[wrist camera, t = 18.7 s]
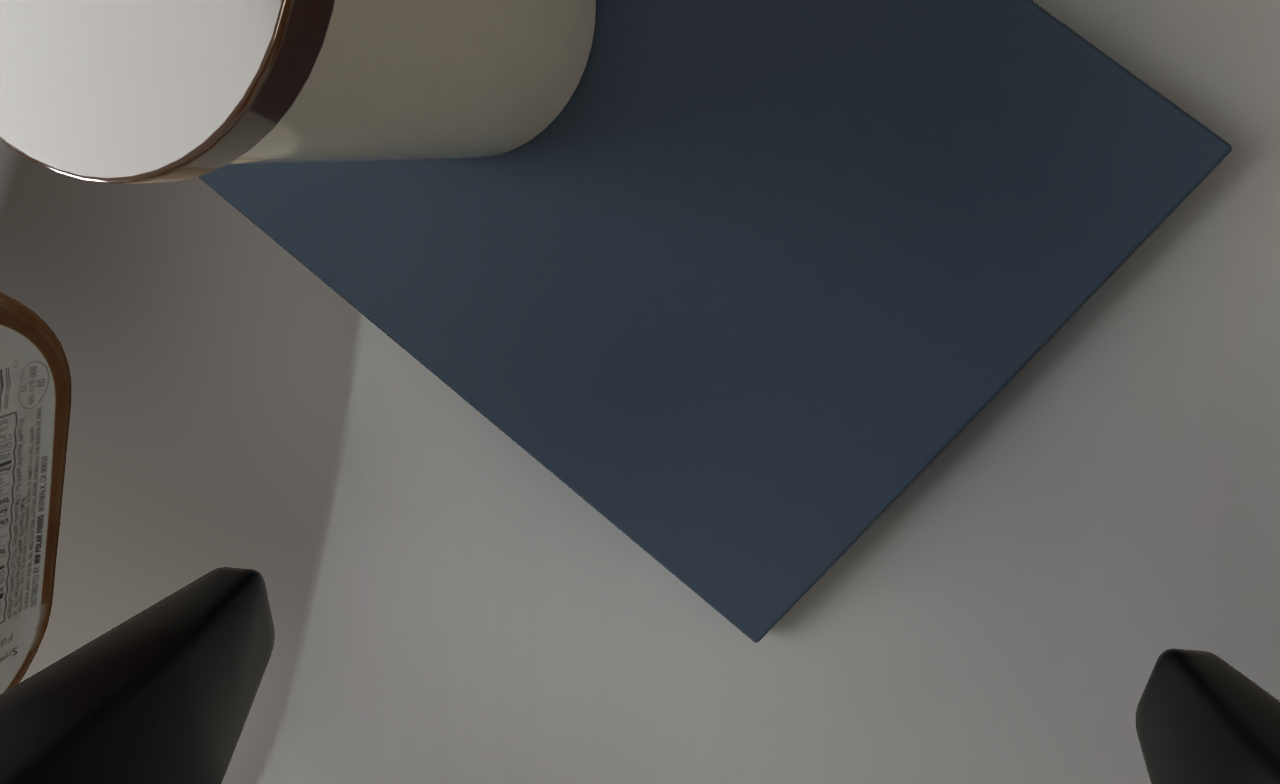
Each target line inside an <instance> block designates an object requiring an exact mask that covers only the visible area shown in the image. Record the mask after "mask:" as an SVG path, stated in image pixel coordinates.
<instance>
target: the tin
mask: <svg viewBox="0 0 1280 784" xmlns="http://www.w3.org/2000/svg"><path fill="white" fill-rule="evenodd" d="M70 408H71V376H70V371H69V366H68V362H67V359H66V356H65V353H64V350H63V348H62V345H61V343H60V341H59V340H58V338H57V337H56V335H55V334H54V332H53V331H52V330H51V329H50V327H49V326H48V325H47V324H46V323H45V322H44V321H43V320H42V319H41V318H40V317H39V316H38V315H37V314H36V313H34V312H33V311H32V310H31V309H29V308H27V307H26V306H24V305H23V304H21V303H20V302H18V301H17V300H15V299H13V298H11V297H9V296H7V295H5V294H3V293H1V292H0V694H2V693H4V692H6V691H7V690H9V689H11V688H12V687H14V686H16V685H18V684H19V682H20V681H21V679H22V678H23V676H24V674H25V673H26V671H27V669H28V667H29V666H30V664H31V662H32V660H33V658H34V656H35V654H36V652H37V650H38V648H39V645H40V643H41V641H42V638H43V636H44V633H45V631H46V628H47V625H48V621H49V616H50V612H51V605H52V598H53V588H54V577H55V566H56V556H57V546H58V536H59V526H60V515H61V505H62V493H63V483H64V473H65V462H66V451H67V440H68V430H69V419H70Z"/></svg>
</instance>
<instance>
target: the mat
mask: <svg viewBox="0 0 1280 784" xmlns="http://www.w3.org/2000/svg"><path fill="white" fill-rule="evenodd" d="M1231 150H1232V147H1231V145H1230V144H1229V143H1227V142H1226V141H1224V140H1223V139H1222V138H1220V137H1219V136H1217V135H1216V134H1215V133H1213V132H1212V131H1211V130H1209V129H1208V128H1206V127H1205V126H1204V125H1202V124H1201V123H1200V122H1198V121H1197V120H1195V119H1194V118H1193V117H1191V116H1190V115H1188V114H1187V113H1186V112H1184V111H1183V110H1182V109H1180V108H1179V107H1177V106H1176V105H1175V104H1173V103H1172V102H1171V101H1169V100H1168V99H1166V98H1165V97H1164V96H1162V95H1161V94H1160V93H1158V92H1157V91H1155V90H1154V89H1153V88H1151V87H1150V86H1148V85H1147V84H1146V83H1144V82H1143V81H1142V80H1140V79H1139V78H1137V77H1136V76H1135V75H1133V74H1132V73H1131V72H1129V71H1128V70H1126V69H1125V68H1124V67H1122V66H1121V65H1119V64H1118V63H1117V62H1115V61H1114V60H1113V59H1111V58H1110V57H1108V56H1107V55H1106V54H1104V53H1103V52H1102V51H1100V50H1099V49H1097V48H1096V47H1095V46H1093V45H1092V44H1090V43H1089V42H1088V41H1086V40H1085V39H1084V38H1082V37H1081V36H1079V35H1078V34H1077V33H1075V32H1074V31H1073V30H1071V29H1070V28H1068V27H1067V26H1066V25H1064V24H1063V23H1061V22H1060V21H1059V20H1057V19H1056V18H1055V17H1053V16H1052V15H1050V14H1049V13H1048V12H1046V11H1045V10H1044V9H1042V8H1041V7H1039V6H1038V5H1037V4H1035V3H1034V2H1033V1H1031V0H596V13H595V28H594V34H593V40H592V46H591V50H590V53H589V57H588V61H587V64H586V67H585V69H584V72H583V74H582V77H581V79H580V81H579V84H578V86H577V87H576V89H575V91H574V93H573V95H572V96H571V98H570V100H569V101H568V103H567V104H566V105H565V107H564V108H563V110H562V111H561V112H560V114H559V115H558V116H557V117H556V118H555V119H554V120H553V121H552V122H551V123H550V124H549V125H548V126H547V127H546V128H545V129H544V130H543V131H542V132H540V133H539V134H538V135H537V136H535V137H534V138H533V139H531V140H530V141H528V142H526V143H525V144H523V145H521V146H519V147H518V148H516V149H513V150H510V151H508V152H505V153H503V154H500V155H495V156H491V157H486V158H475V159H445V160H403V161H361V162H319V163H277V164H235V165H226V166H223V167H221V168H219V169H217V170H214V171H212V172H210V173H208V174H205V175H202V176H198V177H199V178H200V179H201V180H203V181H204V182H205V183H206V184H207V185H209V186H210V187H211V188H212V189H213V190H215V191H216V192H217V193H218V194H219V195H221V196H222V197H223V198H224V199H225V200H227V201H228V202H229V203H230V204H231V205H233V206H234V207H235V208H236V209H237V210H239V211H240V212H241V213H242V214H243V215H245V216H246V217H247V218H248V219H249V220H250V221H252V222H253V223H254V224H255V225H257V226H258V227H259V228H260V229H261V230H262V231H264V232H265V233H266V234H267V235H268V236H270V237H271V238H272V239H273V240H274V241H276V242H277V243H278V244H279V245H280V246H282V247H283V248H284V249H285V250H286V251H288V252H289V253H290V254H291V255H292V256H293V257H295V258H296V259H297V260H298V261H299V262H301V263H302V264H303V265H304V266H305V267H307V268H308V269H309V270H310V271H311V272H313V273H314V274H315V275H316V276H318V277H319V278H320V279H321V280H322V281H323V282H325V283H326V284H327V285H328V286H329V287H331V288H332V289H333V290H334V291H335V292H337V293H338V294H339V295H340V296H341V297H342V298H344V299H345V300H346V301H347V302H348V303H350V304H351V305H352V306H353V307H354V308H356V309H357V310H358V311H359V312H360V313H362V314H363V315H364V316H365V317H366V318H368V319H369V320H370V321H371V322H372V323H374V324H375V325H376V326H377V327H378V328H380V329H381V330H382V331H383V332H384V333H386V334H387V335H388V336H389V337H390V338H392V339H393V340H394V341H395V342H396V343H397V344H399V345H400V346H401V347H402V348H403V349H405V350H406V351H407V352H408V353H409V354H411V355H412V356H413V357H414V358H415V359H417V360H418V361H419V362H420V363H421V364H423V365H424V366H425V367H426V368H427V369H429V370H430V371H431V372H432V373H433V374H435V375H436V376H437V377H438V378H439V379H441V380H442V381H443V382H444V383H445V384H447V385H448V386H449V387H450V388H451V389H453V390H454V391H455V392H456V393H457V394H458V395H460V396H461V397H462V398H463V399H464V400H466V401H467V402H468V403H469V404H470V405H472V406H473V407H474V408H475V409H476V410H478V411H479V412H480V413H481V414H482V415H484V416H485V417H486V418H487V419H488V420H490V421H491V422H492V423H493V424H494V425H496V426H497V427H498V428H499V429H500V430H502V431H503V432H504V433H505V434H506V435H508V436H509V437H510V438H511V439H512V440H513V441H515V442H516V443H517V444H518V445H519V446H521V447H522V448H523V449H524V450H525V451H527V452H528V453H529V454H530V455H531V456H533V457H534V458H535V459H536V460H537V461H539V462H540V463H541V464H542V465H543V466H545V467H546V468H547V469H548V470H549V471H551V472H552V473H553V474H554V475H555V476H557V477H558V478H559V479H560V480H561V481H563V482H564V483H565V484H566V485H567V486H568V487H570V488H571V489H572V490H573V491H574V492H576V493H577V494H578V495H579V496H580V497H582V498H583V499H584V500H585V501H586V502H588V503H589V504H590V505H591V506H592V507H594V508H595V509H596V510H597V511H598V512H600V513H601V514H602V515H603V516H604V517H606V518H607V519H608V520H609V521H610V522H612V523H613V524H614V525H615V526H616V527H618V528H619V529H620V530H621V531H622V532H624V533H625V534H626V535H627V536H628V537H629V538H631V539H632V540H633V541H634V542H635V543H637V544H638V545H639V546H640V547H641V548H643V549H644V550H645V551H646V552H647V553H649V554H650V555H651V556H652V557H653V558H655V559H656V560H657V561H658V562H659V563H661V564H662V565H663V566H664V567H665V568H667V569H668V570H669V571H670V572H671V573H673V574H674V575H675V576H676V577H677V578H679V579H680V580H681V581H682V582H683V583H684V584H686V585H687V586H688V587H689V588H690V589H692V590H693V591H694V592H695V593H696V594H698V595H699V596H700V597H701V598H702V599H704V600H705V601H706V602H707V603H708V604H710V605H711V606H712V607H713V608H714V609H716V610H717V611H718V612H719V613H720V614H722V615H723V616H724V617H725V618H726V619H728V620H729V621H730V622H731V623H732V624H734V625H735V626H736V627H737V628H738V629H739V630H741V631H742V632H743V633H744V634H745V635H747V636H748V637H749V638H750V639H751V640H753V641H754V642H756V643H757V642H759V641H760V640H761V639H762V638H763V637H764V636H765V635H766V634H767V632H768V631H769V630H770V629H771V628H772V627H773V626H774V625H775V624H776V623H777V622H778V621H779V620H780V619H781V618H782V617H783V616H784V615H785V614H786V613H787V612H788V611H789V610H790V609H791V608H792V607H793V605H794V604H795V603H796V602H797V601H798V600H799V599H800V598H801V597H802V596H803V595H804V594H805V593H806V592H807V591H808V590H809V589H810V588H811V587H812V586H813V585H814V584H815V583H816V582H817V581H818V580H819V578H820V577H821V576H822V575H823V574H824V573H825V572H826V571H827V570H828V569H829V568H830V567H831V566H832V565H833V564H834V563H835V562H836V561H837V560H838V559H839V558H840V557H841V556H842V555H843V554H844V553H845V551H846V550H847V549H848V548H849V547H850V546H851V545H852V544H853V543H854V542H855V541H856V540H857V539H858V538H859V537H860V536H861V535H862V534H863V533H864V532H865V531H866V530H867V529H868V528H869V527H870V526H871V524H872V523H873V522H874V521H875V520H876V519H877V518H878V517H879V516H880V515H881V514H882V513H883V512H884V511H885V510H886V509H887V508H888V507H889V506H890V505H891V504H892V503H893V502H894V501H895V500H896V499H897V497H898V496H899V495H900V494H901V493H902V492H903V491H904V490H905V489H906V488H907V487H908V486H909V485H910V484H911V483H912V482H913V481H914V480H915V479H916V478H917V477H918V476H919V475H920V474H921V473H922V472H923V470H924V469H925V468H926V467H927V466H928V465H929V464H930V463H931V462H932V461H933V460H934V459H935V458H936V457H937V456H938V455H939V454H940V453H941V452H942V451H943V450H944V449H945V448H946V447H947V446H948V445H949V443H950V442H951V441H952V440H953V439H954V438H955V437H956V436H957V435H958V434H959V433H960V432H961V431H962V430H963V429H964V428H965V427H966V426H967V425H968V424H969V423H970V422H971V421H972V420H973V419H974V418H975V416H976V415H977V414H978V413H979V412H980V411H981V410H982V409H983V408H984V407H985V406H986V405H987V404H988V403H989V402H990V401H991V400H992V399H993V398H994V397H995V396H996V395H997V394H998V393H999V392H1000V391H1001V389H1002V388H1003V387H1004V386H1005V385H1006V384H1007V383H1008V382H1009V381H1010V380H1011V379H1012V378H1013V377H1014V376H1015V375H1016V374H1017V373H1018V372H1019V371H1020V370H1021V369H1022V368H1023V367H1024V366H1025V365H1026V364H1027V362H1028V361H1029V360H1030V359H1031V358H1032V357H1033V356H1034V355H1035V354H1036V353H1037V352H1038V351H1039V350H1040V349H1041V348H1042V347H1043V346H1044V345H1045V344H1046V343H1047V342H1048V341H1049V340H1050V339H1051V338H1052V337H1053V335H1054V334H1055V333H1056V332H1057V331H1058V330H1059V329H1060V328H1061V327H1062V326H1063V325H1064V324H1065V323H1066V322H1067V321H1068V320H1069V319H1070V318H1071V317H1072V316H1073V315H1074V314H1075V313H1076V312H1077V311H1078V310H1079V308H1080V307H1081V306H1082V305H1083V304H1084V303H1085V302H1086V301H1087V300H1088V299H1089V298H1090V297H1091V296H1092V295H1093V294H1094V293H1095V292H1096V291H1097V290H1098V289H1099V288H1100V287H1101V286H1102V285H1103V284H1104V283H1105V281H1106V280H1107V279H1108V278H1109V277H1110V276H1111V275H1112V274H1113V273H1114V272H1115V271H1116V270H1117V269H1118V268H1119V267H1120V266H1121V265H1122V264H1123V263H1124V262H1125V261H1126V260H1127V259H1128V258H1129V257H1130V255H1131V254H1132V253H1133V252H1134V251H1135V250H1136V249H1137V248H1138V247H1139V246H1140V245H1141V244H1142V243H1143V242H1144V241H1145V240H1146V239H1147V238H1148V237H1149V236H1150V235H1151V234H1152V233H1153V232H1154V231H1155V230H1156V228H1157V227H1158V226H1159V225H1160V224H1161V223H1162V222H1163V221H1164V220H1165V219H1166V218H1167V217H1168V216H1169V215H1170V214H1171V213H1172V212H1173V211H1174V210H1175V209H1176V208H1177V207H1178V206H1179V205H1180V204H1181V203H1182V201H1183V200H1184V199H1185V198H1186V197H1187V196H1188V195H1189V194H1190V193H1191V192H1192V191H1193V190H1194V189H1195V188H1196V187H1197V186H1198V185H1199V184H1200V183H1201V182H1202V181H1203V180H1204V179H1205V178H1206V177H1207V176H1208V174H1209V173H1210V172H1211V171H1212V170H1213V169H1214V168H1215V167H1216V166H1217V165H1218V164H1219V163H1220V162H1221V161H1222V160H1223V159H1224V158H1225V157H1226V156H1227V155H1228V154H1229V153H1230V152H1231Z"/></svg>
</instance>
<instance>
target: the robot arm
mask: <svg viewBox="0 0 1280 784" xmlns="http://www.w3.org/2000/svg"><path fill="white" fill-rule="evenodd" d="M273 645H274V625H273V620H272V616H271V611H270V606H269V601H268V596H267V591H266V586H265V582H264V579H263V577H262V575H261V574H260V573H259V572H258V571H255V570H252V569H240V568H229V567H224V568H217V569H215V570H213V571H211V572H209V573H207V574H206V575H204V576H203V577H201V578H199V579H197V580H195V581H194V582H192V583H190V584H189V585H187V586H185V587H183V588H182V589H180V590H178V591H177V592H175V593H173V594H171V595H170V596H168V597H166V598H165V599H163V600H161V601H160V602H158V603H156V604H155V605H153V606H151V607H149V608H148V609H146V610H144V611H142V612H141V613H139V614H137V615H136V616H134V617H132V618H130V619H129V620H127V621H125V622H124V623H122V624H120V625H118V626H117V627H115V628H113V629H112V630H110V631H108V632H106V633H105V634H103V635H102V636H100V637H98V638H96V639H95V640H93V641H91V642H89V643H88V644H86V645H84V646H83V647H81V648H80V649H77V650H76V651H74V652H72V653H71V654H69V655H67V656H65V657H64V658H62V659H60V660H59V661H57V662H55V663H54V664H52V665H50V666H49V667H47V668H45V669H43V670H42V671H40V672H38V673H36V674H35V675H33V676H31V677H30V678H28V679H26V680H25V681H23V682H21V683H19V684H18V685H16V686H14V687H12V688H11V689H9V690H7V691H6V692H4V693H2V694H0V784H221V783H222V780H223V778H224V776H225V773H226V771H227V768H228V766H229V763H230V761H231V758H232V755H233V753H234V750H235V748H236V745H237V742H238V740H239V737H240V734H241V732H242V729H243V727H244V724H245V721H246V719H247V716H248V714H249V711H250V708H251V706H252V703H253V700H254V698H255V695H256V692H257V690H258V687H259V685H260V682H261V679H262V677H263V674H264V672H265V669H266V666H267V664H268V661H269V659H270V656H271V653H272V650H273ZM1136 729H1137V734H1138V738H1139V741H1140V745H1141V749H1142V752H1143V756H1144V759H1145V763H1146V766H1147V770H1148V774H1149V777H1150V781H1151V784H1280V701H1279V700H1277V699H1276V698H1274V697H1273V696H1272V695H1270V694H1269V693H1268V692H1266V691H1265V690H1263V689H1262V688H1261V687H1259V686H1258V685H1256V684H1255V683H1254V682H1252V681H1251V680H1250V679H1248V678H1247V677H1245V676H1244V675H1243V674H1241V673H1240V672H1239V671H1237V670H1236V669H1234V668H1233V667H1232V666H1230V665H1229V664H1228V663H1226V662H1225V661H1223V660H1222V659H1221V658H1219V657H1218V656H1216V655H1214V654H1212V653H1209V652H1205V651H1195V650H1184V649H1169V650H1166V651H1164V652H1163V653H1162V654H1161V655H1160V656H1159V658H1158V660H1157V662H1156V664H1155V667H1154V669H1153V671H1152V674H1151V676H1150V678H1149V680H1148V683H1147V685H1146V687H1145V690H1144V692H1143V694H1142V697H1141V699H1140V701H1139V704H1138V707H1137V711H1136Z"/></svg>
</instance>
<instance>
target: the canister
mask: <svg viewBox="0 0 1280 784" xmlns="http://www.w3.org/2000/svg"><path fill="white" fill-rule="evenodd" d="M595 13H596V0H0V139H1V140H2V141H3V142H4V143H6V144H7V145H8V146H9V147H11V148H12V149H14V150H16V151H17V152H19V153H20V154H22V155H24V156H25V157H27V158H28V159H30V160H32V161H33V162H35V163H38V164H40V165H43V166H45V167H47V168H49V169H51V170H53V171H56V172H58V173H60V174H63V175H66V176H70V177H74V178H77V179H81V180H84V181H88V182H96V183H107V184H133V183H156V182H170V181H181V180H185V179H189V178H194V177H198V176H202V175H205V174H208V173H210V172H212V171H214V170H217V169H219V168H221V167H223V166H226V165H235V164H277V163H319V162H361V161H403V160H445V159H475V158H486V157H491V156H495V155H500V154H503V153H505V152H508V151H510V150H513V149H516V148H518V147H519V146H521V145H523V144H525V143H526V142H528V141H530V140H531V139H533V138H534V137H535V136H537V135H538V134H539V133H540V132H542V131H543V130H544V129H545V128H546V127H547V126H548V125H549V124H550V123H551V122H552V121H553V120H554V119H555V118H556V117H557V116H558V115H559V114H560V112H561V111H562V110H563V108H564V107H565V105H566V104H567V103H568V101H569V100H570V98H571V96H572V95H573V93H574V91H575V89H576V87H577V86H578V84H579V81H580V79H581V77H582V74H583V72H584V69H585V67H586V64H587V61H588V57H589V53H590V50H591V46H592V40H593V34H594V28H595Z"/></svg>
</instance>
